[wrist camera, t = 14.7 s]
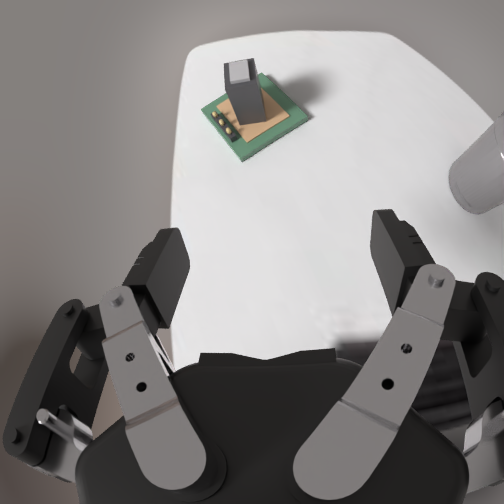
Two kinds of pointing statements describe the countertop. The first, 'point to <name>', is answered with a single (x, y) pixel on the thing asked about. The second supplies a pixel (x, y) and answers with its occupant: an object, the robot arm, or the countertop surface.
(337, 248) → the countertop surface
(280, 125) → the circuit board
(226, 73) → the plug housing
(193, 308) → the countertop surface
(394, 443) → the robot arm
